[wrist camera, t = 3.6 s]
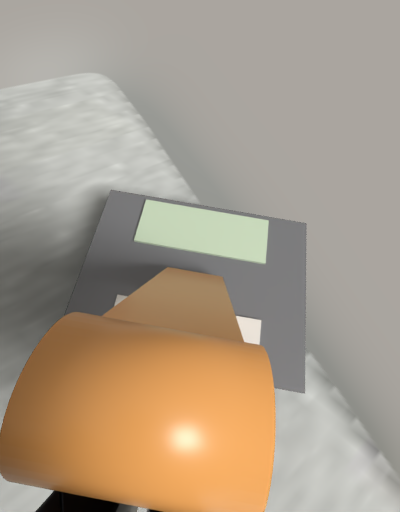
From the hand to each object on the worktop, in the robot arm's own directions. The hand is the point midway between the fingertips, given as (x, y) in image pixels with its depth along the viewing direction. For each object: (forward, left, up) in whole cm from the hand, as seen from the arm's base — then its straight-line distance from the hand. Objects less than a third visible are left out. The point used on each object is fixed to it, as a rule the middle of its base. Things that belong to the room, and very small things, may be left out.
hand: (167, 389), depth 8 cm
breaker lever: (+4, -3, -6) cm, 8 cm away
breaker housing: (+4, -3, -10) cm, 11 cm away
